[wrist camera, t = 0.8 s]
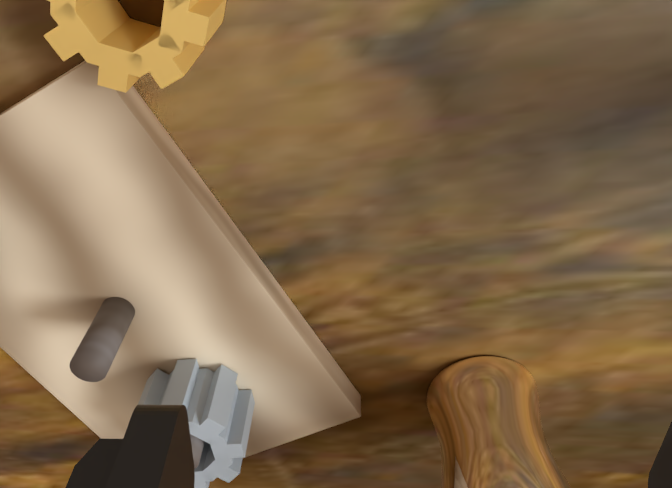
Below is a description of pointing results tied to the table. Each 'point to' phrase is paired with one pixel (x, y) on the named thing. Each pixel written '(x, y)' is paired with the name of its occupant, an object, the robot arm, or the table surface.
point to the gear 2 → (207, 414)
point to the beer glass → (491, 427)
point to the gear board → (141, 271)
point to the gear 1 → (134, 38)
